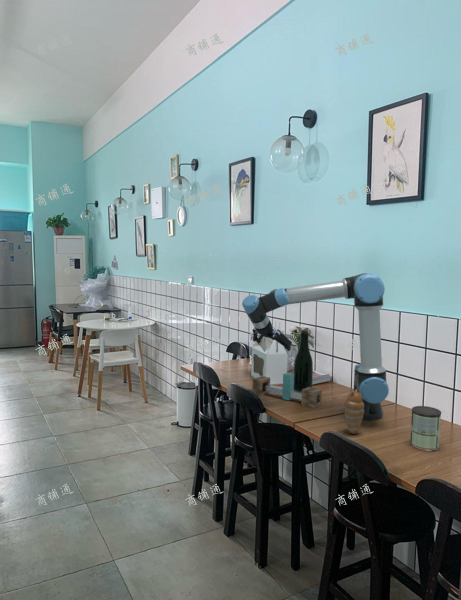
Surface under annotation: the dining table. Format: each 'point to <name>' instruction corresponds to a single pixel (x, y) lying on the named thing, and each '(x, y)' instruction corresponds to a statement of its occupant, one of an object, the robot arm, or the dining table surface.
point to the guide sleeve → (311, 397)
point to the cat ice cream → (354, 411)
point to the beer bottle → (303, 364)
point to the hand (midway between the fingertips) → (277, 351)
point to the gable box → (269, 361)
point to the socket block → (260, 385)
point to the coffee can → (425, 427)
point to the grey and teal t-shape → (286, 388)
